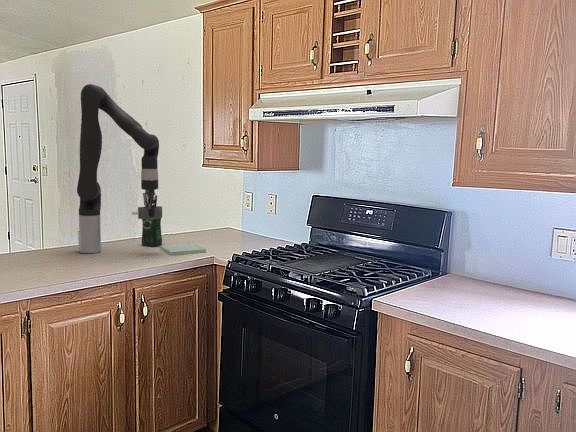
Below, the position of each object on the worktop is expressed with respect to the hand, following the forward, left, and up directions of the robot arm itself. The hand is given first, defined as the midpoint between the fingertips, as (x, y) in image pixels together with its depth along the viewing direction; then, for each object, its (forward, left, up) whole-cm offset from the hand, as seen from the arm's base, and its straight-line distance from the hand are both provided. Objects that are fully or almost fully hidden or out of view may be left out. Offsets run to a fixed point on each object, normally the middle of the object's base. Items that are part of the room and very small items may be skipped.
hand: (150, 216), depth 239 cm
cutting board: (+16, 0, -17) cm, 23 cm away
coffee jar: (+7, +19, -18) cm, 27 cm away
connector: (-1, 0, -1) cm, 1 cm away
